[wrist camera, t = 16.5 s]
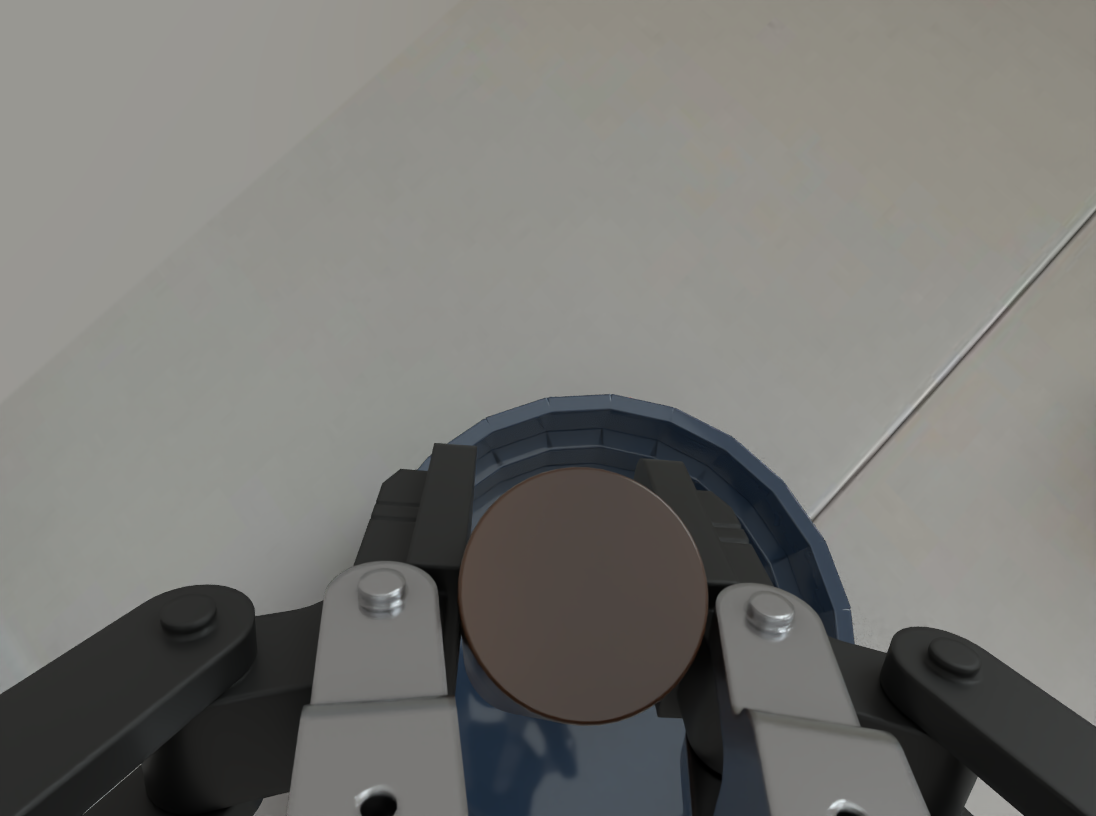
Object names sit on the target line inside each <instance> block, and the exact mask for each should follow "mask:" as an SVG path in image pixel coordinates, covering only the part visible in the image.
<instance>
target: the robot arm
mask: <svg viewBox="0 0 1096 816" xmlns="http://www.w3.org/2000/svg"><path fill="white" fill-rule="evenodd" d="M476 457H477V446H468V445H455V444H441V443H435V444H434V447H433V451H432V455H431V460H430V464H429V468H428V471H422V470H407V469H400V470H399V471H397V472H396V473H395V474H394V475H392V476H391V477H390V478H389V479H387V480H386V481H385V482H383V483H382V486H381V489H380V492H379V495H378V498H377V500H376V504H375V506H374V509H373V512H372V515H371V519H370V520H369V523H368V526H367V529H366V532H365V535H364V537H363V540H362V543H361V546H360V549H359V552H358V555H357V557H356V560H355V563H354V566H353V567H351V568H349V569H347V570H345V571H343V572H342V573H340V574H339V575H337V576H336V577H335V578H334V579H333V580H332V581H331V582H330V583H329V585H328V587H327V588H326V591H325V595H324V600H323V601H321V602H318V603H316V604H314V605H311V606H308V607H304V608H301V609H297V610H292V611H286V612H280V613H273V614H267V615H261V616H255V608H254V606H253V603H252V602H251V600H250V599H249V598H248V597H247V596H246V595H245V594H243V593H242V592H240V591H238V590H236V589H233V588H230V587H226V586H220V585H194V586H187V587H182V588H178V589H174V590H171V591H168V592H165V593H162V594H160V595H158V596H155V597H153V598H152V599H150V600H148V601H146V602H144V603H143V604H141V605H140V606H138V607H137V608H135V609H133V610H132V611H130V612H129V613H127V614H126V615H124V616H122V617H121V618H119V619H118V620H116V621H115V622H113V623H112V624H110V625H108V626H107V627H105V628H104V629H102V630H101V631H99V632H97V633H96V634H94V635H93V636H91V637H90V638H88V639H86V640H85V641H83V642H82V643H80V644H79V645H77V646H75V647H74V648H72V649H71V650H69V651H68V652H66V653H65V654H63V655H61V656H60V657H58V658H57V659H55V660H54V661H52V662H50V663H49V664H47V665H46V666H44V667H43V668H41V669H39V670H38V671H36V672H35V673H33V674H32V675H30V676H28V677H27V678H25V679H24V680H22V681H21V682H19V683H18V684H16V685H14V686H13V687H11V688H10V689H8V690H7V691H5V692H3V693H2V694H0V816H253V815H254V813H255V812H256V811H257V809H258V808H259V806H260V804H261V802H262V800H263V798H266V797H270V796H274V795H278V794H282V793H286V792H290V794H289V801H288V808H287V815H286V816H468V807H467V798H466V789H465V780H464V770H463V761H462V752H461V743H460V734H459V724H458V715H457V707H456V701H455V691H456V681H457V671H458V661H459V651H460V641H461V627H460V617H459V607H458V577H459V571H460V564H461V560H462V557H463V554H464V550H465V547H466V545H467V542H468V540H469V538H470V536H471V527H472V513H473V499H474V485H475V471H476ZM634 480H635V481H636V482H638V483H640V484H642V485H644V486H645V487H647V488H648V489H650V490H651V491H653V492H654V493H655V494H657V495H658V496H659V497H660V498H662V499H663V500H664V501H665V502H666V503H667V504H668V505H669V506H670V507H671V508H672V509H673V510H674V511H675V513H676V514H677V515H678V516H679V517H680V519H681V520H682V521H683V523H684V524H685V526H686V527H687V529H688V530H689V532H690V534H691V536H692V538H693V540H694V542H695V544H696V546H697V548H698V550H699V553H700V556H701V559H702V561H703V565H704V569H705V574H706V578H707V587H708V616H707V622H706V629H705V632H704V636H703V639H702V643H701V646H700V648H699V650H698V653H697V655H696V657H695V660H694V662H693V663H692V665H691V666H690V668H689V670H688V671H687V673H686V675H685V676H684V677H683V678H682V680H681V681H680V682H679V683H678V685H677V686H676V687H675V688H674V689H673V690H672V691H671V692H670V693H669V694H668V695H667V696H666V697H665V698H663V699H662V700H661V701H660V702H658V703H657V704H655V707H656V712H657V716H658V717H660V718H682V719H683V722H684V726H685V729H686V732H685V736H684V740H683V745H682V749H681V753H680V771H681V786H682V801H683V816H973V815H972V814H971V813H970V812H969V811H968V810H967V809H966V808H965V807H964V806H965V804H966V801H967V799H968V797H969V795H970V793H971V790H972V788H973V786H974V784H975V782H976V779H977V777H979V778H980V779H981V780H983V781H984V782H985V783H986V784H987V785H989V786H990V787H991V788H992V789H993V790H994V791H996V792H997V793H998V794H999V795H1000V796H1001V797H1003V798H1004V799H1005V800H1006V801H1007V802H1009V803H1010V804H1011V805H1012V806H1013V807H1014V808H1016V809H1017V810H1018V811H1019V812H1020V813H1021V814H1023V815H1024V816H1096V727H1095V726H1094V725H1092V724H1091V723H1090V722H1088V721H1087V720H1085V719H1084V718H1082V717H1081V716H1079V715H1078V714H1077V713H1075V712H1074V711H1072V710H1071V709H1069V708H1068V707H1066V706H1065V705H1064V704H1062V703H1061V702H1059V701H1058V700H1056V699H1055V698H1053V697H1052V696H1051V695H1049V694H1048V693H1046V692H1045V691H1043V690H1042V689H1040V688H1039V687H1038V686H1036V685H1035V684H1033V683H1032V682H1030V681H1029V680H1027V679H1026V678H1025V677H1023V676H1022V675H1020V674H1019V673H1017V672H1016V671H1014V670H1013V669H1012V668H1010V667H1009V666H1007V665H1006V664H1004V663H1003V662H1001V661H1000V660H999V659H997V658H996V657H994V656H993V655H991V654H990V653H989V652H987V651H986V650H984V649H982V648H981V647H979V646H978V645H976V644H974V643H972V642H971V641H969V640H967V639H965V638H962V637H960V636H958V635H955V634H952V633H950V632H947V631H943V630H939V629H935V628H929V627H909V628H905V629H902V630H900V631H898V632H897V633H896V634H895V635H894V636H893V638H892V640H891V643H890V646H889V649H888V652H887V653H885V652H881V651H877V650H873V649H870V648H866V647H862V646H859V645H855V644H851V643H848V642H844V641H841V640H838V639H835V638H832V637H830V636H827V633H826V631H825V628H824V625H823V623H822V621H821V619H820V617H819V616H818V614H817V613H816V612H815V611H814V610H813V609H812V608H811V607H810V606H809V605H808V604H807V603H806V602H804V601H803V600H801V599H800V598H798V597H797V596H795V595H793V594H791V593H789V592H787V591H784V590H782V589H779V588H776V587H774V585H773V584H772V582H771V580H770V578H769V576H768V574H767V572H766V571H765V569H764V567H763V565H762V563H761V561H760V560H759V558H758V556H757V554H756V552H755V550H754V548H753V547H752V545H751V544H749V539H748V537H747V535H746V534H745V532H744V530H743V529H741V524H740V522H739V521H738V519H737V517H736V515H735V513H734V511H733V509H732V508H731V507H730V506H729V505H728V504H727V503H725V502H724V501H723V500H722V499H720V498H719V497H718V496H717V495H715V494H714V493H713V492H712V491H702V490H696V488H695V486H694V484H693V482H692V479H691V477H690V475H689V473H688V471H687V469H686V467H685V465H684V463H683V462H682V461H669V460H655V459H642V458H640V459H639V460H638V463H637V465H636V469H635V474H634ZM141 763H142V764H141ZM140 764H141V765H140ZM139 765H140V766H139ZM138 766H139V767H138ZM137 767H138V768H137ZM135 768H137V769H136V770H134V769H135ZM133 770H134V771H133ZM132 771H133V772H132ZM131 772H132V773H131ZM130 773H131V774H130ZM128 774H130V775H129V776H128V777H126V776H127V775H128ZM125 777H126V778H125ZM124 778H125V779H124ZM123 779H124V780H123ZM121 780H123V781H122V782H121V783H119V782H120V781H121ZM118 783H119V784H118ZM117 784H118V785H117ZM116 785H117V786H116ZM114 786H116V787H115V788H114V789H112V788H113V787H114ZM111 789H112V790H111ZM110 790H111V791H110ZM109 791H110V792H109ZM107 792H109V793H108V794H107V795H105V794H106V793H107ZM104 795H105V796H104ZM103 796H104V797H103ZM102 797H103V798H102ZM100 798H102V799H101V800H100V801H98V800H99V799H100ZM97 801H98V802H97ZM96 802H97V803H96ZM95 803H96V804H95ZM93 804H95V805H94V806H93V807H91V806H92V805H93ZM90 807H91V808H90ZM89 808H90V809H89ZM88 809H89V810H88ZM87 810H88V811H87ZM86 811H87V812H86ZM85 812H86V813H85ZM84 813H85V814H84Z"/></svg>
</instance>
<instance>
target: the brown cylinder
mask: <svg viewBox="0 0 1096 816" xmlns="http://www.w3.org/2000/svg"><path fill="white" fill-rule="evenodd" d="M458 607H459V617H460V627H461V637H462V647H463V658H464V665H465V669H466V673H467V675H468V678H469V680H470V682H471V684H472V686H473V687H474V689H475V690H476V692H477V693H478V694H479V695H480V696H481V697H482V698H483V699H484V700H485V701H486V702H487V703H489V704H490V705H492V706H493V707H495V708H497V709H499V710H502V711H504V712H508V713H512V714H517V715H522V716H527V717H532V718H537V719H542V720H547V721H552V722H557V723H562V724H569V725H578V726H599V725H605V724H611V723H616V722H619V721H622V720H625V719H629V718H632V717H634V716H636V715H638V714H640V713H642V712H644V711H646V710H648V709H649V708H651V707H652V706H654V705H655V704H657V703H658V702H660V701H661V700H662V699H663V698H665V697H666V696H667V695H668V694H669V693H670V692H671V691H672V690H673V689H674V688H675V687H676V686H677V685H678V683H679V682H680V681H681V680H682V678H683V677H684V676H685V675H686V673H687V671H688V670H689V668H690V666H691V665H692V663H693V662H694V660H695V657H696V655H697V653H698V650H699V648H700V646H701V643H702V639H703V636H704V632H705V629H706V622H707V616H708V587H707V578H706V574H705V569H704V565H703V561H702V559H701V556H700V553H699V550H698V548H697V546H696V544H695V542H694V540H693V538H692V536H691V534H690V532H689V530H688V529H687V527H686V526H685V524H684V523H683V521H682V520H681V519H680V517H679V516H678V515H677V514H676V513H675V511H674V510H673V509H672V508H671V507H670V506H669V505H668V504H667V503H666V502H665V501H664V500H663V499H662V498H660V497H659V496H658V495H657V494H655V493H654V492H653V491H651V490H650V489H648V488H647V487H645V486H644V485H642V484H640V483H638V482H636V481H635V480H633V479H631V478H628V477H626V476H623V475H621V474H618V473H615V472H611V471H607V470H603V469H596V468H589V467H570V468H561V469H555V470H551V471H547V472H543V473H540V474H538V475H535V476H532V477H530V478H528V479H526V480H524V481H522V482H520V483H518V484H517V485H515V486H513V487H512V488H511V489H509V490H508V491H507V492H505V493H504V494H502V495H501V496H500V497H499V498H498V499H497V500H496V501H495V502H494V503H493V504H492V505H491V506H490V507H489V508H488V510H487V511H486V512H485V513H484V515H483V516H482V517H481V518H480V520H479V522H478V523H477V525H476V526H475V528H474V530H473V531H472V533H471V536H470V538H469V540H468V542H467V545H466V547H465V550H464V554H463V557H462V560H461V564H460V571H459V577H458Z"/></svg>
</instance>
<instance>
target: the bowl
mask: <svg viewBox="0 0 1096 816" xmlns="http://www.w3.org/2000/svg"><path fill="white" fill-rule="evenodd" d="M447 444H455V445H468V446H477V457H476V471H475V485H474V499H473V513H472V527H471V533H472V531H473V530H474V528H475V526H476V525H477V523H478V522H479V520H480V518H481V517H482V516H483V515H484V513H485V512H486V511H487V510H488V508H489V507H490V506H491V505H492V504H493V503H494V502H495V501H496V500H497V499H498V498H499V497H500V496H501V495H502V494H504V493H505V492H507V491H508V490H509V489H511V488H512V487H513V486H515V485H517V484H518V483H520V482H522V481H524V480H526V479H528V478H530V477H532V476H535V475H538V474H540V473H543V472H547V471H551V470H555V469H561V468H570V467H589V468H596V469H603V470H607V471H611V472H615V473H618V474H621V475H623V476H626V477H628V478H631V479H633V480H634V474H635V469H636V465H637V463H638V460H639V459H640V458H642V459H655V460H669V461H682V462H683V463H684V465H685V467H686V469H687V471H688V473H689V475H690V477H691V479H692V482H693V484H694V486H695V488H696V490H702V491H712V492H713V493H714V494H715V495H717V496H718V497H719V498H720V499H722V500H723V501H724V502H725V503H727V504H728V505H729V506H730V507H731V508H732V509H733V511H734V513H735V515H736V517H737V519H738V521H739V522H740V524H741V529H743V530H744V532H745V534H746V535H747V537H748V539H749V544H751V545H752V547H753V548H754V550H755V552H756V554H757V556H758V558H759V560H760V561H761V563H762V565H763V567H764V569H765V571H766V572H767V574H768V576H769V578H770V580H771V582H772V584H773V585H774V587H776V588H779V589H782V590H784V591H787V592H789V593H791V594H793V595H795V596H797V597H798V598H800V599H801V600H803V601H804V602H806V603H807V604H808V605H809V606H810V607H811V608H812V609H813V610H814V611H815V612H816V613H817V614H818V616H819V617H820V619H821V621H822V623H823V625H824V628H825V631H826V633H827V636H830V637H832V638H835V639H838V640H841V641H844V642H848V643H851V644H855V643H854V634H853V625H852V616H851V610H850V608H851V607H850V604H849V601H848V599H847V596H846V594H845V591H844V588H843V586H842V583H841V580H840V578H839V575H838V573H837V570H836V567H835V565H834V562H833V559H832V557H831V554H830V552H829V549H828V546H827V544H826V541H825V540H824V538H823V537H822V535H821V534H820V532H819V531H818V529H817V528H816V527H815V525H814V524H813V522H812V521H811V519H810V518H809V516H808V515H807V514H806V512H805V511H804V509H803V508H802V506H801V505H800V504H799V502H798V501H797V499H796V498H795V496H794V495H793V494H792V492H791V491H790V489H789V488H788V486H787V485H786V484H785V483H784V481H783V480H782V479H781V478H780V477H778V476H777V475H776V474H775V473H774V472H773V471H772V470H770V469H769V468H768V467H767V466H766V465H765V464H763V463H762V462H761V461H760V460H759V459H758V458H757V457H755V456H754V455H753V454H752V453H751V452H750V451H749V450H747V449H746V448H745V447H744V446H743V445H742V444H741V443H739V442H738V441H737V440H736V439H735V438H733V437H732V436H730V435H728V434H726V433H724V432H722V431H720V430H718V429H716V428H714V427H712V426H710V425H708V424H706V423H704V422H702V421H700V420H698V419H696V418H694V417H692V416H690V415H688V414H686V413H684V412H682V411H681V410H679V409H677V408H673V407H670V406H665V405H660V404H656V403H651V402H646V401H642V400H637V399H633V398H628V397H623V396H619V395H614V394H611V395H610V394H604V395H584V396H565V397H548V398H543V399H540V400H537V401H534V402H531V403H528V404H525V405H522V406H519V407H516V408H513V409H510V410H507V411H504V412H501V413H498V414H495V415H492V416H489V417H486V419H483V420H481V421H480V422H478V423H477V424H475V425H474V426H472V427H471V428H469V429H468V430H467V431H465V432H464V433H462V434H461V435H459V436H458V437H456V438H455V439H453V440H452V441H450V442H449V443H447ZM431 455H432V454H431ZM431 455H430V456H429V457H428V458H427V459H426V460H425V461H424V462H423V464H422V465H421V466H420V467H419V468H418V470H422V471H428V468H429V464H430V460H431ZM455 701H456V707H457V715H458V724H459V734H460V743H461V752H462V761H463V770H464V780H465V789H466V798H467V807H468V816H683V801H682V786H681V771H680V753H681V749H682V745H683V740H684V736H685V732H686V729H685V726H684V722H683V719H682V718H660V717H658V716H657V712H656V707H655V705H654V706H652V707H651V708H649V709H648V710H646V711H644V712H642V713H640V714H638V715H636V716H634V717H632V718H629V719H625V720H622V721H619V722H616V723H611V724H605V725H599V726H578V725H569V724H562V723H557V722H552V721H547V720H542V719H537V718H532V717H527V716H522V715H517V714H512V713H508V712H504V711H502V710H499V709H497V708H495V707H493V706H492V705H490V704H489V703H487V702H486V701H485V700H484V699H483V698H482V697H481V696H480V695H479V694H478V693H477V692H476V690H475V689H474V687H473V686H472V684H471V682H470V680H469V678H468V675H467V673H466V669H465V665H464V658H463V647H462V637H461V641H460V651H459V661H458V671H457V681H456V691H455Z"/></svg>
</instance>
